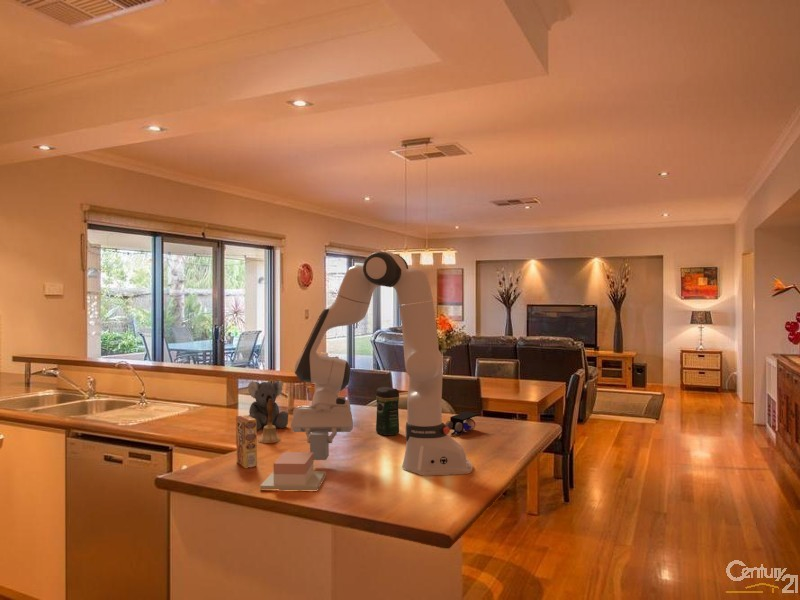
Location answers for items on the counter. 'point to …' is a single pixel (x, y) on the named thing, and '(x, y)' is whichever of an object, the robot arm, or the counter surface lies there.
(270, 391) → the koala plush
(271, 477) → the brick tower base
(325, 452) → the slate brick
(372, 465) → the counter surface
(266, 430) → the hand bell
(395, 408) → the coffee jar
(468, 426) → the figurine character
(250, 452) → the candy box
